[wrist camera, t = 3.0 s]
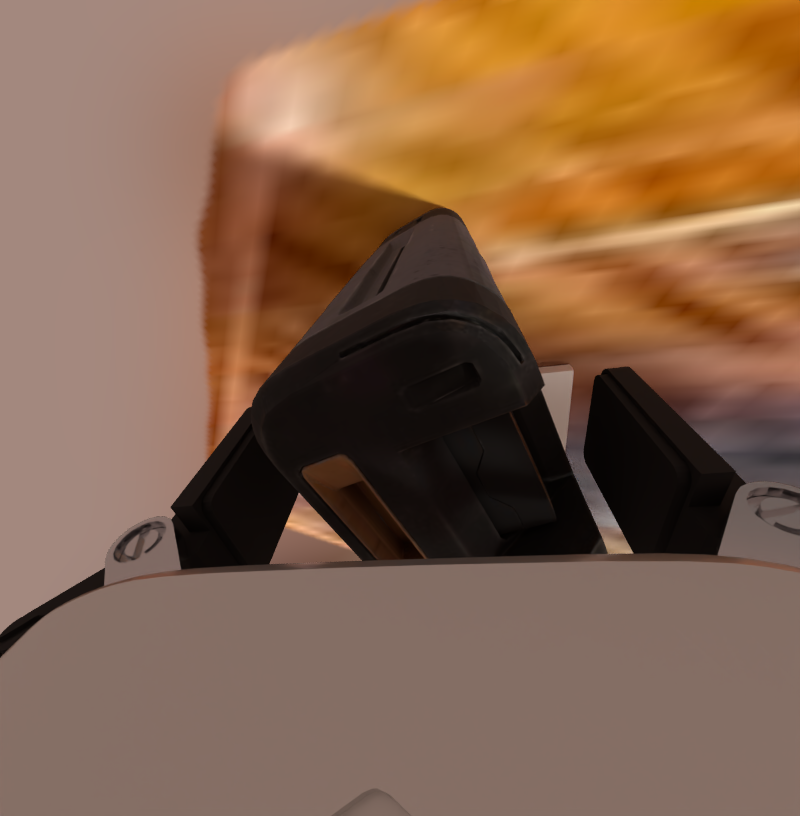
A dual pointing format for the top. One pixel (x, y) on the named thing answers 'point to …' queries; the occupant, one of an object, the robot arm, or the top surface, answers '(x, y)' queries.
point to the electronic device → (424, 413)
